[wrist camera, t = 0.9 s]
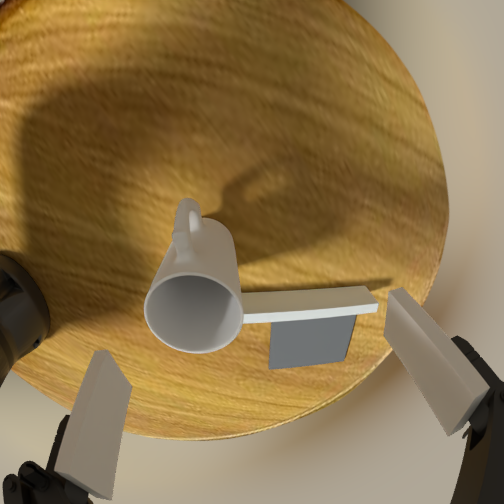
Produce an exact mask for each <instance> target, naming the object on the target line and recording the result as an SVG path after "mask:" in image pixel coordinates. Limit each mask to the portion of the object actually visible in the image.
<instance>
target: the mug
mask: <svg viewBox="0 0 504 504" xmlns="http://www.w3.org/2000/svg"><path fill="white" fill-rule="evenodd" d="M172 239H173V240H172V242H171V244H170V246H169V248H168V250H167V252H166V255H165V257H164V259H163V261H162V263H161V265H160V267H159V269H158V271H157V273H156V275H155V277H154V279H153V282H152V284H151V287H150V289H149V292H148V294H147V296H146V298H145V302H144V315H145V319H146V322H147V324H148V326H149V328H150V330H151V331H152V332H153V334H154V335H155V336H156V337H157V338H158V339H159V340H161V341H162V342H163V343H165V344H166V345H168V346H170V347H172V348H174V349H177V350H179V351H183V352H188V353H209V352H213V351H216V350H219V349H221V348H223V347H225V346H226V345H228V344H229V343H231V342H232V341H233V340H234V339H235V338H236V336H237V335H238V334H239V332H240V330H241V328H242V325H243V320H244V312H243V302H242V294H241V287H240V281H239V274H238V267H237V260H236V252H235V246H234V241H233V238H232V235H231V233H230V232H229V230H228V229H227V228H226V227H225V226H224V225H223V224H222V223H220V222H218V221H216V220H214V219H211V218H202V217H201V210H200V206H199V204H198V203H197V202H196V201H194V200H193V199H191V198H184V199H182V200H181V201H180V203H179V205H178V208H177V212H176V217H175V223H174V230H173V233H172Z"/></svg>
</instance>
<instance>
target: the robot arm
mask: <svg viewBox="0 0 504 504" xmlns="http://www.w3.org/2000/svg"><path fill="white" fill-rule="evenodd" d="M49 328H50V316H49V312H48V308H47V305H46V302H45V300H44V298H43V296H42V294H41V292H40V290H39V288H38V287H37V285H36V283H35V282H34V281H33V279H32V278H31V277H30V275H29V274H28V273H27V272H26V271H25V270H24V269H23V268H22V267H21V266H20V265H19V264H18V263H16V262H15V261H14V260H12V259H11V258H9V257H7V256H4V255H1V254H0V387H1V385H2V383H3V382H4V380H5V378H6V376H7V374H8V373H9V371H10V369H11V368H12V366H13V365H14V363H15V362H16V361H18V360H19V359H21V358H22V357H24V356H25V355H27V354H28V353H30V352H31V351H33V350H34V349H36V348H37V347H38V346H39V345H40V344H41V343H42V342H43V340H44V339H45V337H46V335H47V334H48V332H49ZM384 337H385V338H386V340H387V341H388V343H389V344H390V346H391V347H392V349H393V350H394V352H395V353H396V354H397V356H398V357H399V359H400V360H401V362H402V363H403V365H404V366H405V368H406V369H407V371H408V373H409V374H410V376H411V377H412V379H413V380H414V382H415V383H416V385H417V387H418V388H419V390H420V391H421V392H422V394H423V396H424V398H425V399H426V401H427V402H428V404H429V406H430V407H431V409H432V411H433V412H434V414H435V415H436V417H437V419H438V420H439V422H440V424H441V425H442V427H443V429H444V431H445V432H446V434H447V436H450V435H452V434H453V433H455V432H457V431H458V430H460V429H461V428H463V426H464V425H465V424H466V422H467V421H469V422H470V424H471V425H470V426H469V428H468V429H467V430H466V432H465V433H464V434H463V437H462V438H465V437H466V435H467V434H468V437H467V443H466V448H465V452H464V457H463V462H462V465H461V469H460V473H459V477H458V481H457V484H456V488H455V491H454V494H453V497H452V500H451V503H450V504H504V382H502V381H501V380H500V379H499V378H498V377H497V375H496V374H495V373H494V372H493V370H492V369H491V368H490V367H489V366H488V364H487V363H486V362H485V361H484V360H483V358H482V357H480V355H479V354H478V353H477V352H476V351H475V350H474V348H473V347H472V346H471V345H470V344H469V343H468V341H466V340H464V339H463V338H461V337H459V336H455V337H453V338H451V339H450V338H449V337H448V336H447V335H446V333H444V331H443V330H442V329H441V328H440V327H439V326H438V324H437V323H436V322H435V321H434V320H433V319H432V318H431V317H430V316H429V315H428V314H427V313H426V311H425V310H424V309H423V308H422V307H421V306H420V305H419V304H418V303H417V302H416V301H415V300H414V299H413V298H412V297H411V296H410V295H409V294H408V292H407V291H406V290H405V289H404V288H403V287H401V288H398V289H395V290H391V291H389V293H388V303H387V312H386V321H385V328H384ZM131 390H132V386H131V384H130V383H129V382H128V380H127V379H126V377H125V376H124V374H123V373H122V371H121V370H120V368H119V367H118V365H117V364H116V362H115V361H114V359H113V357H112V356H111V354H110V353H109V351H108V350H99V351H95V352H94V354H93V357H92V359H91V362H90V364H89V367H88V369H87V371H86V374H85V377H84V379H83V382H82V384H81V387H80V390H79V392H78V395H77V398H76V400H75V403H74V406H73V409H72V412H71V415H66V416H65V417H64V418H63V420H62V421H61V422H60V424H59V427H58V430H57V435H56V437H55V442H54V443H53V446H52V450H51V453H50V456H49V460H48V463H47V467H46V470H44V469H43V468H41V467H40V466H39V465H37V464H36V463H35V462H33V461H26V462H24V463H23V464H22V465H21V467H20V468H19V471H18V476H16V475H14V474H9V475H7V476H6V477H5V478H4V481H3V497H4V504H93V502H92V501H91V500H90V498H88V494H89V493H90V494H91V495H93V496H95V497H97V498H101V499H106V500H112V494H113V487H114V480H115V473H116V467H117V460H118V454H119V449H120V443H121V437H122V432H123V427H124V422H125V417H126V413H127V408H128V403H129V399H130V394H131Z"/></svg>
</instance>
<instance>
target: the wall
mask: <svg viewBox="0 0 504 504" xmlns="http://www.w3.org/2000/svg"><path fill="white" fill-rule="evenodd" d="M241 294H242V302H243V312H244V320H243V323H263V322H279V321H293V320H306V319H317V318H328V317H338V316H347V315H356V314H364V313H372V312H377V308H378V304H379V303H378V301H377V300H376V299H375V298H374V296H373V295H372V294H371V293H370V291H369V290H368V289H367V287H366V286H365V285H364V286H351V287H338V288H324V289H309V290H292V291H273V292H251V293H241Z"/></svg>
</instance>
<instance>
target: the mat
mask: <svg viewBox="0 0 504 504" xmlns="http://www.w3.org/2000/svg"><path fill="white" fill-rule="evenodd" d="M355 318H356V315H347V316H338V317H328V318H317V319H306V320H293V321H279V322H271V339H270V355H269V370H270V369H282V368H292V367H302V366H310V365H318V364H326V363H333V362H340V361H344V358H345V355H346V352H347V348H348V345H349V341H350V337H351V334H352V330H353V326H354V322H355Z"/></svg>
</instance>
